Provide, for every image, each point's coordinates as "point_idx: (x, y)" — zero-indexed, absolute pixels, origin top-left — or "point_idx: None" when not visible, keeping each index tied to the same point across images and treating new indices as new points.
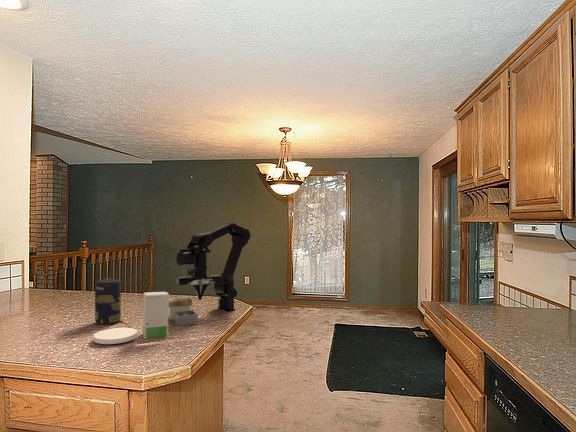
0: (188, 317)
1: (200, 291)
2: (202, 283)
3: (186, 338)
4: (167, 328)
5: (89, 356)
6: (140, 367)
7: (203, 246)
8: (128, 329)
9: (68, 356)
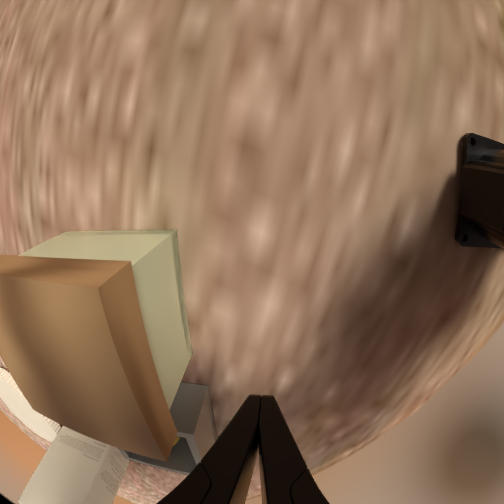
0: (170, 462)
1: (263, 490)
2: None
3: (176, 480)
4: (121, 478)
5: (41, 438)
6: (123, 494)
7: None
8: (28, 405)
9: (18, 419)
